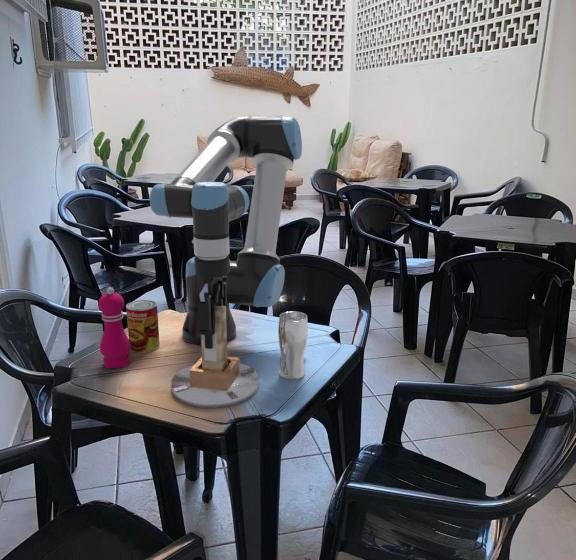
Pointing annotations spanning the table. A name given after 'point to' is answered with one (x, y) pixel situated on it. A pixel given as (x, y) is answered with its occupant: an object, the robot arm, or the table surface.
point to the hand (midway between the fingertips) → (214, 355)
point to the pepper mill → (113, 331)
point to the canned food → (143, 326)
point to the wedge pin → (218, 342)
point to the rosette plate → (215, 385)
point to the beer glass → (292, 343)
